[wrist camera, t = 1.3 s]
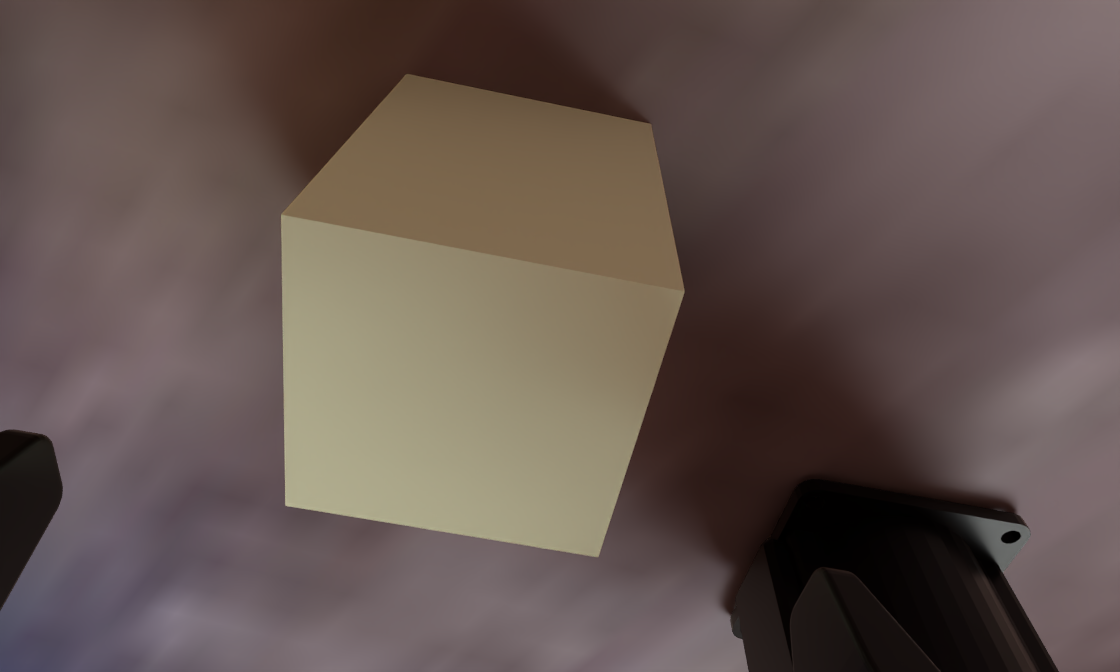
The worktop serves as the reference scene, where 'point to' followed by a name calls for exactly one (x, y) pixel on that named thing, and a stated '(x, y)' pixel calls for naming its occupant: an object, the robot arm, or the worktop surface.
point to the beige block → (476, 316)
